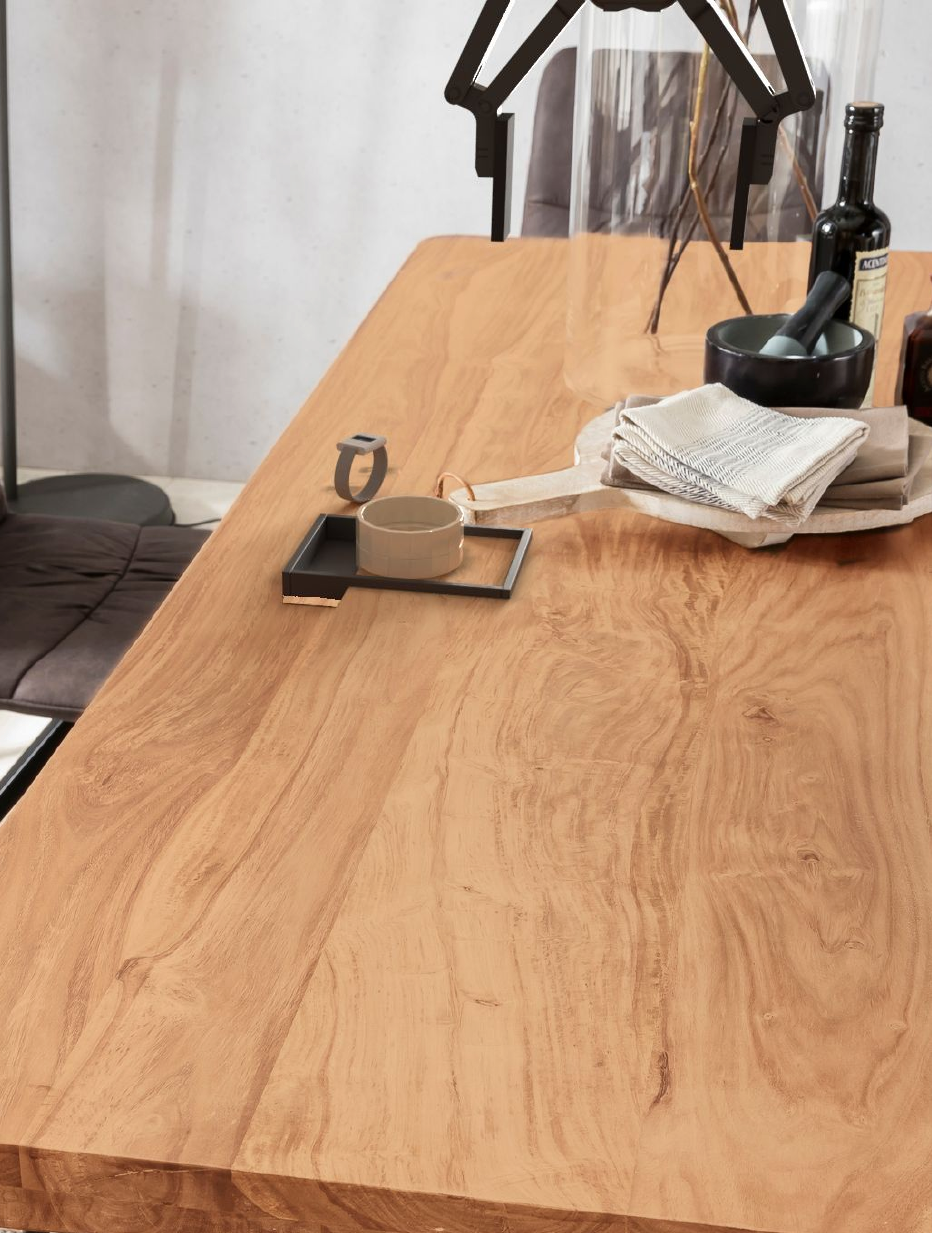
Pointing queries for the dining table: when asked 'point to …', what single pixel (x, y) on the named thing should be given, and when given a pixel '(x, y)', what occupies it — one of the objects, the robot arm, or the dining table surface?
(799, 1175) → the dining table surface
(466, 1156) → the dining table surface
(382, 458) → the wristwatch
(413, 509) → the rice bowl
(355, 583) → the tray frame
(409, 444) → the dining table surface
